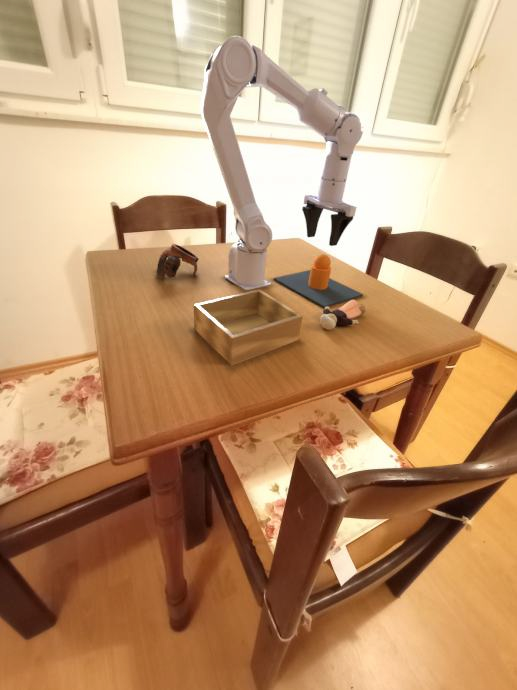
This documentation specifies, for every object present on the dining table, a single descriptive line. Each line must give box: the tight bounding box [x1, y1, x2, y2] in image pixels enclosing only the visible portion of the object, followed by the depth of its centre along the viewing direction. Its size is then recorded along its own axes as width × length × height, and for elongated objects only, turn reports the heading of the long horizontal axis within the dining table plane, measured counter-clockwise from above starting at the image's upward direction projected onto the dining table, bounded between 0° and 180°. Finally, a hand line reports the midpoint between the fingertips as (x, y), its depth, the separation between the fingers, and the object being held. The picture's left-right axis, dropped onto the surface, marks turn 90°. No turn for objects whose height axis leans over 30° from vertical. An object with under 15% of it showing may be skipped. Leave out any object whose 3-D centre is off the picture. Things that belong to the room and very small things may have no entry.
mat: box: [273, 269, 364, 309], centre depth 79 cm, size 18×14×1 cm
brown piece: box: [156, 243, 199, 280], centre depth 77 cm, size 12×10×8 cm
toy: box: [308, 253, 332, 290], centre depth 77 cm, size 5×5×8 cm
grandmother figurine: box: [319, 299, 367, 331], centre depth 64 cm, size 8×4×13 cm
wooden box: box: [193, 288, 304, 366], centre depth 56 cm, size 13×15×6 cm
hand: (321, 240), depth 78 cm, fingers open, 7 cm apart
